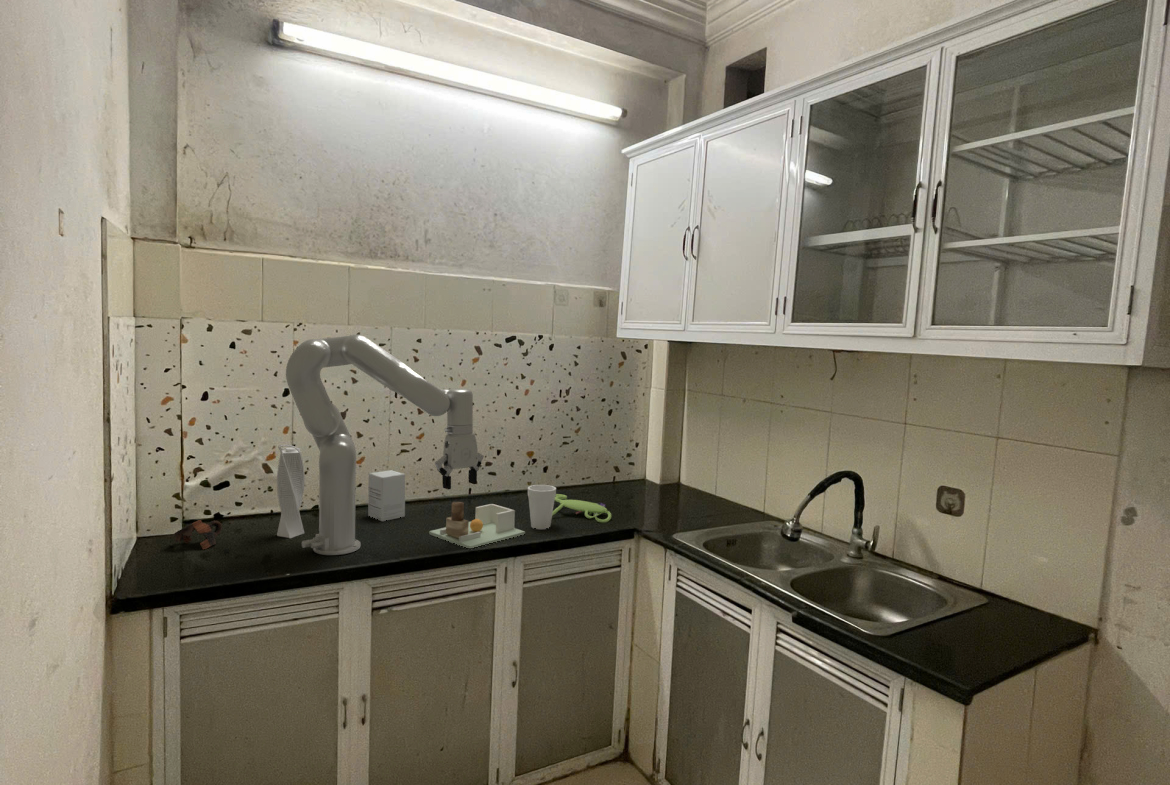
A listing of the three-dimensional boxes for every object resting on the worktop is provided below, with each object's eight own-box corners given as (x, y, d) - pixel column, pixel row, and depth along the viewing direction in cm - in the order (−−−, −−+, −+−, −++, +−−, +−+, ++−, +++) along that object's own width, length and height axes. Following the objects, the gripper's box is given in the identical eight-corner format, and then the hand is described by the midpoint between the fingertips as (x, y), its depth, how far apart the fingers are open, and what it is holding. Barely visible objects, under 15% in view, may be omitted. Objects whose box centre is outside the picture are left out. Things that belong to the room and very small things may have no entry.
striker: (459, 539, 189) (460, 506, 188) (445, 534, 194) (445, 502, 193) (468, 536, 192) (469, 504, 191) (454, 531, 196) (455, 500, 196)
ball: (475, 534, 196) (475, 521, 195) (467, 531, 198) (467, 519, 198) (485, 531, 199) (485, 519, 198) (477, 529, 201) (477, 516, 201)
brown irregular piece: (195, 555, 173) (179, 529, 172) (179, 563, 177) (164, 538, 177) (234, 533, 183) (219, 508, 182) (218, 541, 188) (203, 518, 187)
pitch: (469, 549, 184) (470, 526, 184) (429, 534, 197) (429, 512, 197) (524, 534, 201) (525, 512, 200) (484, 521, 214) (484, 500, 213)
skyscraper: (289, 540, 186) (289, 446, 184) (270, 536, 189) (270, 443, 187) (309, 533, 194) (310, 442, 192) (290, 529, 196) (291, 440, 194)
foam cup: (542, 520, 217) (543, 483, 216) (560, 527, 210) (561, 488, 209) (520, 525, 210) (521, 487, 209) (538, 532, 204) (540, 492, 203)
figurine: (545, 505, 239) (546, 491, 239) (615, 511, 235) (616, 496, 234) (533, 518, 221) (534, 502, 221) (609, 524, 217) (610, 508, 216)
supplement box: (391, 511, 221) (391, 469, 220) (405, 517, 215) (406, 473, 214) (367, 516, 214) (367, 472, 213) (381, 521, 209) (382, 477, 207)
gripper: (443, 434, 181) (444, 493, 183) (490, 428, 194) (490, 483, 196) (428, 431, 186) (428, 488, 188) (474, 426, 199) (474, 479, 201)
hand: (460, 485), depth 192 cm, fingers open, 9 cm apart
